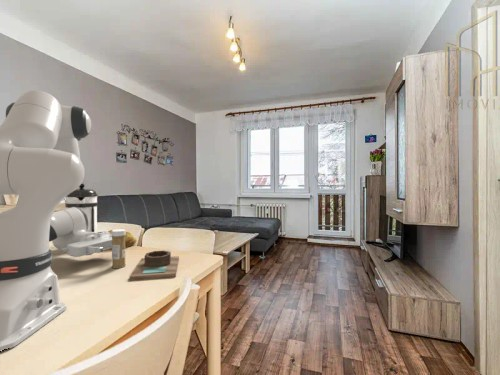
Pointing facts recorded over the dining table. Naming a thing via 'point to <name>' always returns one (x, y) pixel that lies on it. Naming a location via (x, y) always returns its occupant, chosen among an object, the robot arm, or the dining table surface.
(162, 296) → the dining table surface
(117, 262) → the sprinkles bottle
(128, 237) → the bread roll
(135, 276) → the socket board
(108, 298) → the dining table surface
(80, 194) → the coffee press
